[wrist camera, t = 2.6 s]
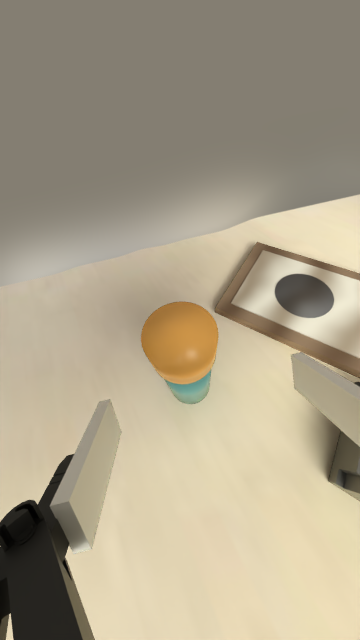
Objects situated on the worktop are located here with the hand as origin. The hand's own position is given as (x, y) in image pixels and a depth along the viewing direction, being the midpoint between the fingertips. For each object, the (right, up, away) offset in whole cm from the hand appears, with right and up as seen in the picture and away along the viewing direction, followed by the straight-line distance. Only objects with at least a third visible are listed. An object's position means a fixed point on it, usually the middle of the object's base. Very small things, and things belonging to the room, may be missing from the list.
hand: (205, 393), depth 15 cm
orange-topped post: (-1, -2, +9) cm, 10 cm away
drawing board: (+14, +8, +14) cm, 21 cm away
